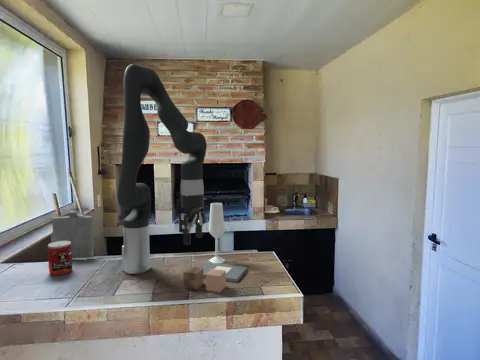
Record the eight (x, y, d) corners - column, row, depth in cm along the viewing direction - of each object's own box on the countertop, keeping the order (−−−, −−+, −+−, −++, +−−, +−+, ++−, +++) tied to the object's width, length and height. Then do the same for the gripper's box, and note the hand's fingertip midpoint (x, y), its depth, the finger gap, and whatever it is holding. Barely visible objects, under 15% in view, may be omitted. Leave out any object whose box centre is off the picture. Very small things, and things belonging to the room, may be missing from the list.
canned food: (51, 277, 114) (50, 247, 113) (47, 271, 120) (45, 243, 119) (75, 272, 119) (73, 243, 118) (69, 266, 125) (68, 239, 124)
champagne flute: (213, 257, 136) (213, 201, 134) (227, 259, 133) (227, 202, 131) (205, 262, 130) (205, 204, 127) (220, 264, 127) (220, 205, 125)
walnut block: (183, 287, 106) (183, 271, 105) (190, 281, 110) (190, 266, 110) (197, 289, 104) (196, 273, 103) (203, 283, 109) (203, 268, 108)
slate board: (195, 276, 115) (195, 272, 115) (208, 265, 126) (208, 261, 126) (236, 282, 110) (236, 278, 109) (247, 270, 121) (247, 266, 121)
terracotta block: (206, 290, 103) (205, 274, 103) (212, 284, 108) (212, 268, 108) (220, 292, 102) (220, 276, 101) (225, 286, 107) (225, 270, 106)
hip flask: (52, 259, 133) (50, 212, 131) (57, 256, 137) (54, 210, 135) (92, 257, 135) (90, 211, 134) (95, 254, 139) (93, 209, 138)
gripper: (191, 190, 112) (192, 234, 114) (170, 195, 99) (172, 246, 100) (211, 190, 110) (212, 236, 111) (192, 196, 96) (193, 248, 98)
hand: (193, 241), depth 106 cm, fingers open, 8 cm apart
